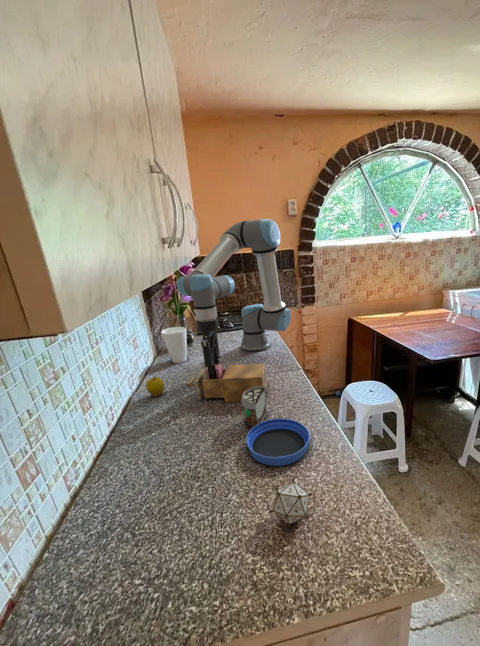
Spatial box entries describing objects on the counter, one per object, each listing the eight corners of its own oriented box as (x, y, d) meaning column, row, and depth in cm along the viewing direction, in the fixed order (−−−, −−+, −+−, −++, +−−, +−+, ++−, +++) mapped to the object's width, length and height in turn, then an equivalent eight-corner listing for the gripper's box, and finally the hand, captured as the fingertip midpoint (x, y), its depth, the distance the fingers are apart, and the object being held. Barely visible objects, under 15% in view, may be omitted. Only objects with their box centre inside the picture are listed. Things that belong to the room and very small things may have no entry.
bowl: (234, 450, 89) (232, 439, 87) (277, 421, 101) (276, 412, 100) (280, 478, 77) (280, 467, 76) (322, 442, 90) (322, 432, 89)
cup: (190, 362, 153) (185, 332, 148) (165, 366, 151) (159, 334, 145) (192, 354, 164) (187, 325, 158) (168, 357, 162) (162, 328, 156)
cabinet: (224, 402, 115) (221, 378, 112) (231, 386, 127) (228, 365, 123) (263, 400, 114) (262, 377, 111) (266, 385, 126) (265, 363, 123)
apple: (165, 389, 127) (161, 372, 124) (166, 396, 121) (162, 378, 118) (148, 393, 124) (144, 375, 122) (148, 400, 119) (144, 381, 116)
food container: (250, 409, 109) (247, 384, 105) (267, 410, 108) (265, 385, 104) (238, 430, 98) (234, 402, 94) (257, 431, 96) (254, 403, 93)
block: (223, 375, 121) (221, 363, 119) (220, 381, 116) (218, 369, 115) (210, 376, 121) (208, 364, 119) (207, 381, 116) (205, 369, 115)
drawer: (186, 400, 116) (182, 381, 113) (195, 386, 126) (192, 369, 124) (233, 398, 115) (231, 379, 112) (238, 384, 126) (236, 367, 123)
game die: (301, 531, 67) (323, 520, 61) (264, 532, 64) (283, 520, 57) (297, 488, 73) (316, 474, 66) (263, 487, 70) (280, 471, 63)
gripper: (203, 313, 119) (211, 368, 127) (188, 326, 102) (199, 389, 110) (222, 312, 119) (229, 368, 127) (210, 325, 102) (219, 388, 110)
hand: (215, 377), depth 119 cm, fingers closed on block, 5 cm apart
